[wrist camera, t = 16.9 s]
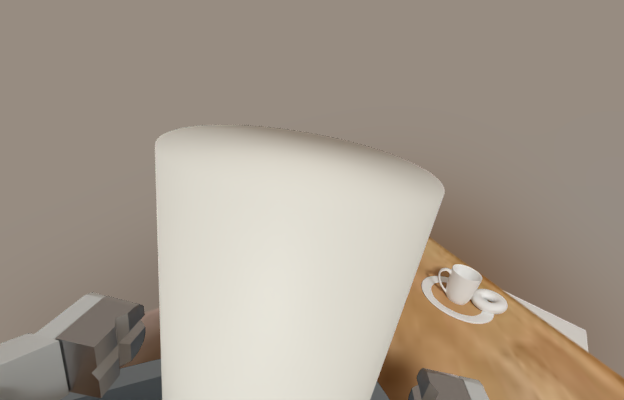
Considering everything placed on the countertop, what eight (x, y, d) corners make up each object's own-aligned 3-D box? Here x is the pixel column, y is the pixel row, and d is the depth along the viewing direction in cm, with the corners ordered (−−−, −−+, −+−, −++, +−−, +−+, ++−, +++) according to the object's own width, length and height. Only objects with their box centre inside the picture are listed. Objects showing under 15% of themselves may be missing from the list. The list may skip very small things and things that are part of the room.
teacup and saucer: (505, 308, 35) (520, 280, 33) (492, 345, 29) (509, 313, 28) (433, 271, 40) (443, 245, 38) (409, 296, 34) (420, 267, 32)
